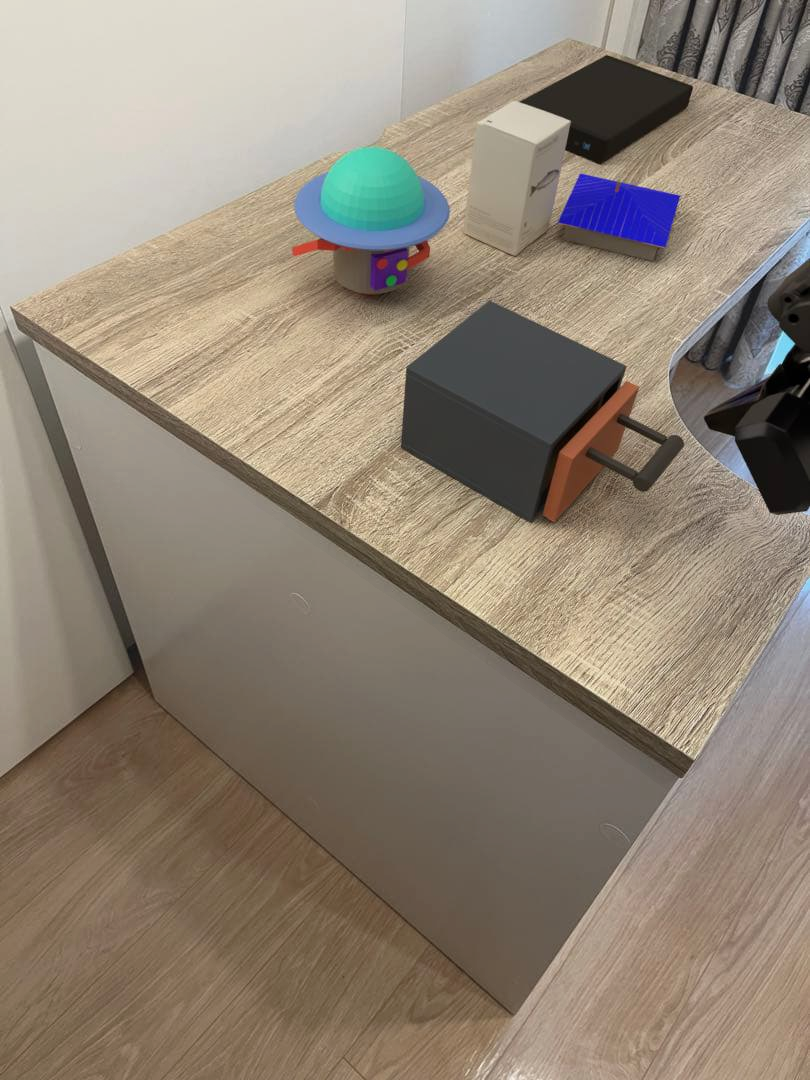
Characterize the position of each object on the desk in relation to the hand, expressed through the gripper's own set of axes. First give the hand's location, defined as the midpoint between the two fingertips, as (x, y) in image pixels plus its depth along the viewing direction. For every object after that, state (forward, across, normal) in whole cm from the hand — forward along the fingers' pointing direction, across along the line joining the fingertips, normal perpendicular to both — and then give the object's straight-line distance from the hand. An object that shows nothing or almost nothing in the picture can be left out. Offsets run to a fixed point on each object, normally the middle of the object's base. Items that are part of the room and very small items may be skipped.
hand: (708, 420), depth 61 cm
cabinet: (+20, 0, -2) cm, 20 cm away
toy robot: (+36, -11, -19) cm, 43 cm away
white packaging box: (+33, -30, -15) cm, 47 cm away
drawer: (+15, 0, +1) cm, 15 cm away
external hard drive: (+37, -63, -20) cm, 76 cm away
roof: (+27, -39, -9) cm, 48 cm away
